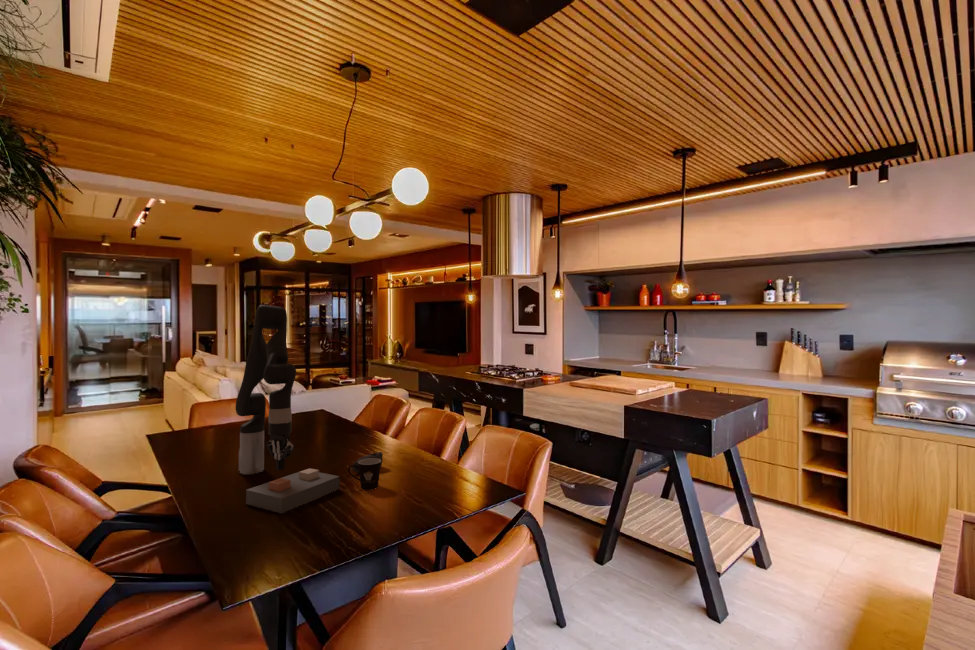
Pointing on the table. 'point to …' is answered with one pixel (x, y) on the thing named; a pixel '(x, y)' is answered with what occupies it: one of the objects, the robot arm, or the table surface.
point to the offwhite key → (308, 474)
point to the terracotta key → (279, 484)
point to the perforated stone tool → (374, 455)
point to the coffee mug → (368, 473)
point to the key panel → (292, 492)
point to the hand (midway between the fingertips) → (280, 469)
